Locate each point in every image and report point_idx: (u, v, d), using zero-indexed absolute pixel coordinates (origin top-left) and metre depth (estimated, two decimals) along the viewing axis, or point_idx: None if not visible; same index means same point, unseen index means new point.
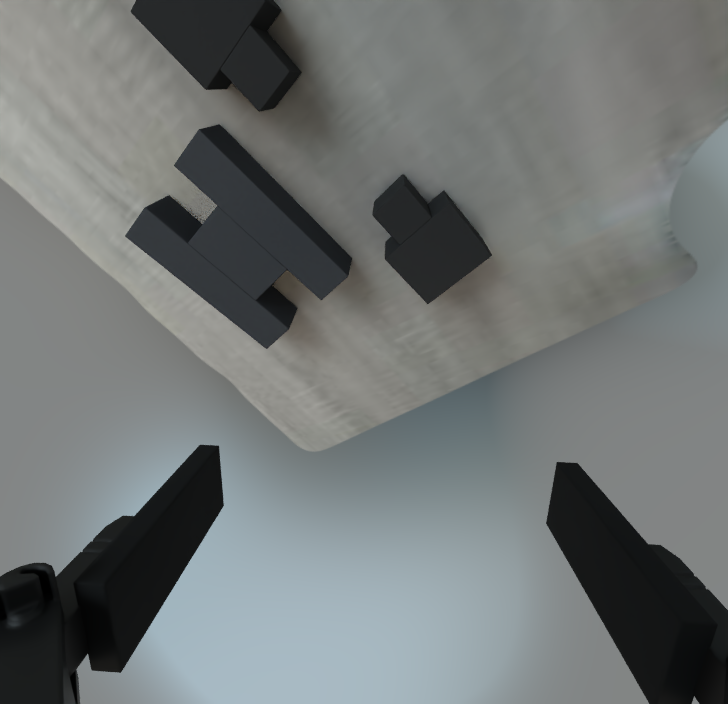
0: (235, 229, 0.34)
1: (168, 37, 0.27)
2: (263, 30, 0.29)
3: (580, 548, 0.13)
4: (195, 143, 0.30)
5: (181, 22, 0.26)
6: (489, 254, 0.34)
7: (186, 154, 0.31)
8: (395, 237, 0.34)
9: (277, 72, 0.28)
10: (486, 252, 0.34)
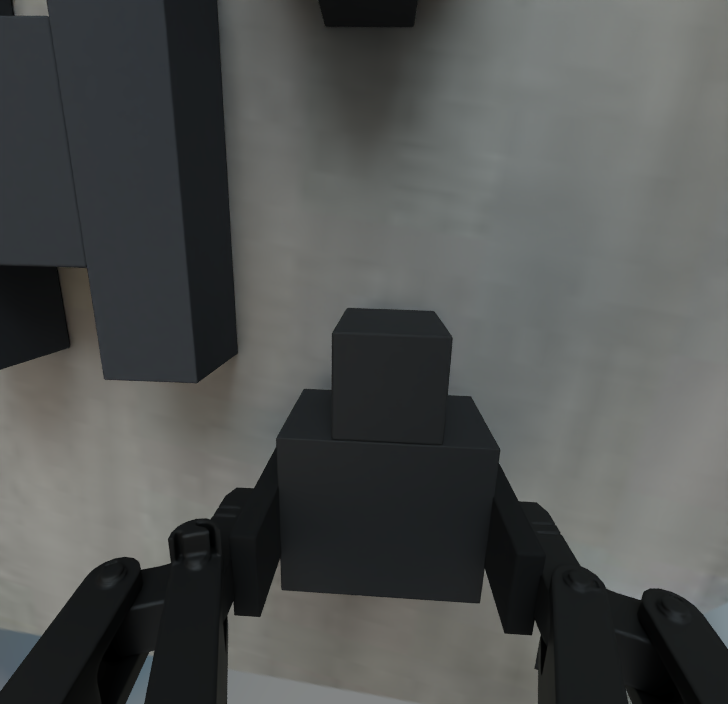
0: (43, 97, 0.13)
1: None
2: None
3: None
4: None
5: None
6: (477, 598, 0.14)
7: None
8: (337, 417, 0.12)
9: None
10: (475, 590, 0.14)
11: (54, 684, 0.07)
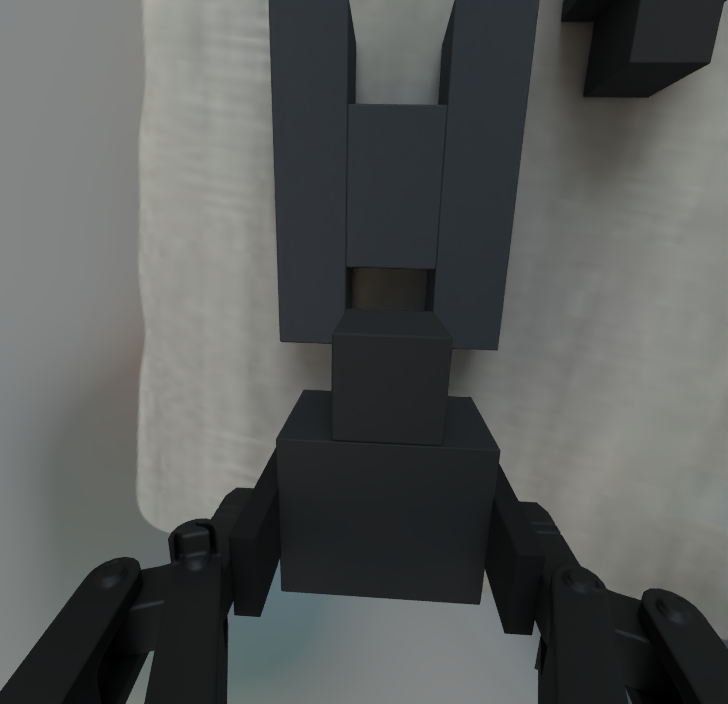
0: (432, 156, 0.19)
1: None
2: None
3: None
4: (515, 5, 0.17)
5: None
6: (477, 599, 0.14)
7: (488, 3, 0.17)
8: (337, 418, 0.12)
9: (697, 47, 0.17)
10: (476, 591, 0.14)
11: (54, 684, 0.07)
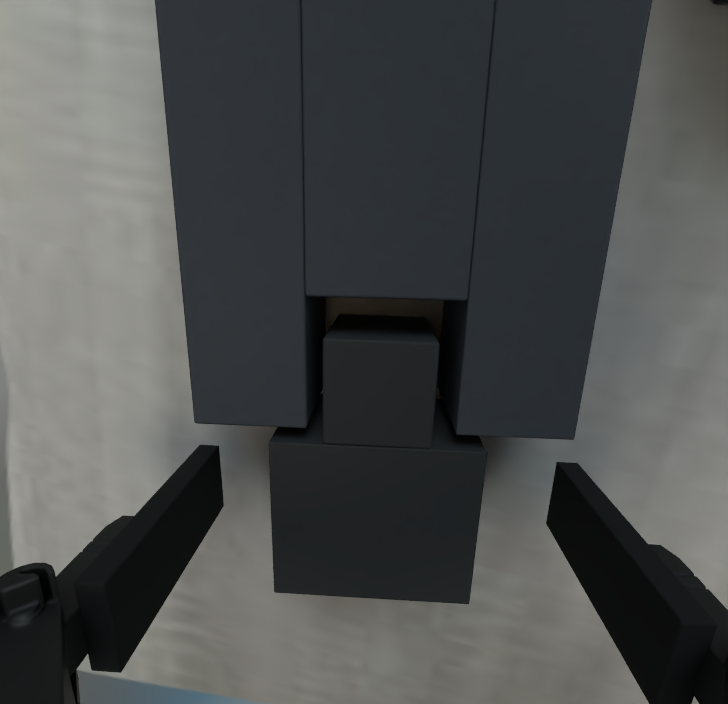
0: (466, 87, 0.10)
1: None
2: None
3: (580, 548, 0.13)
4: None
5: None
6: (466, 598, 0.14)
7: None
8: (328, 422, 0.12)
9: None
10: (465, 591, 0.14)
11: None
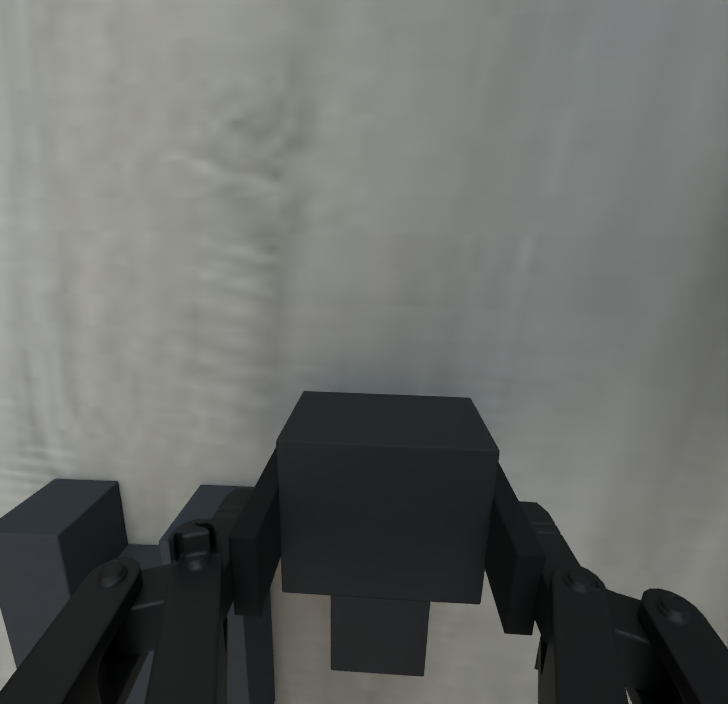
0: None
1: (298, 509, 0.13)
2: None
3: None
4: None
5: (340, 517, 0.13)
6: None
7: None
8: None
9: (406, 664, 0.15)
10: None
11: (54, 684, 0.07)
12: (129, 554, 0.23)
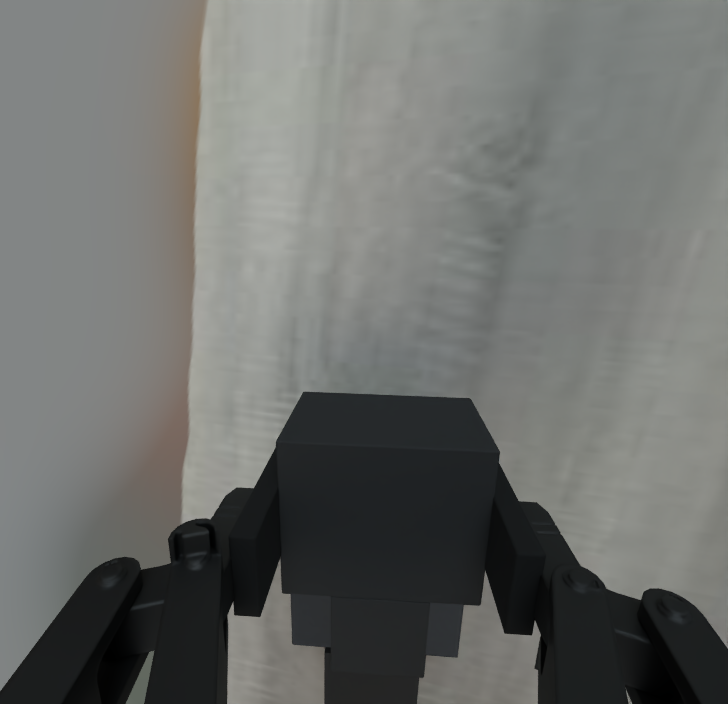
0: None
1: (298, 510, 0.13)
2: None
3: None
4: None
5: (339, 519, 0.13)
6: None
7: None
8: None
9: (406, 665, 0.15)
10: None
11: (54, 684, 0.07)
12: None
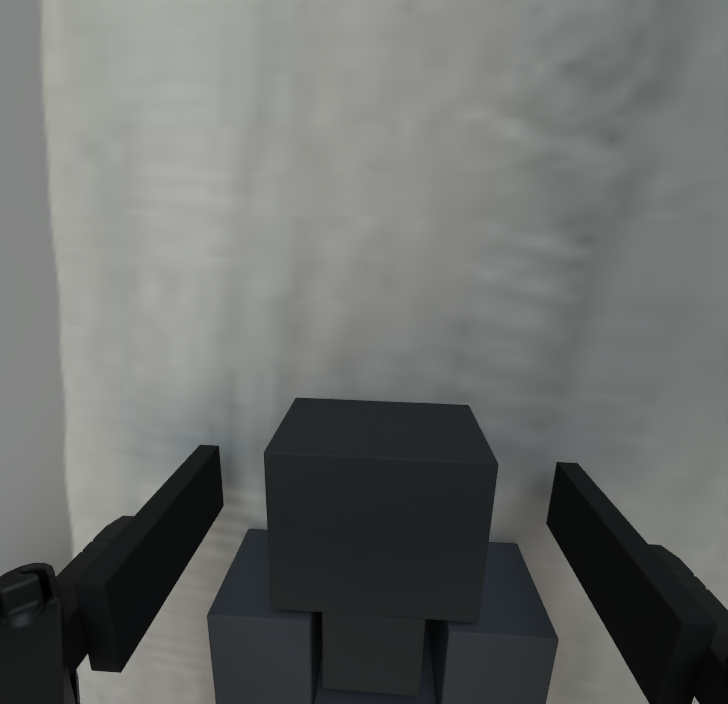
0: None
1: (287, 523, 0.13)
2: None
3: (580, 548, 0.13)
4: (527, 646, 0.13)
5: (331, 532, 0.13)
6: None
7: (491, 642, 0.13)
8: None
9: (401, 683, 0.14)
10: None
11: None
12: None
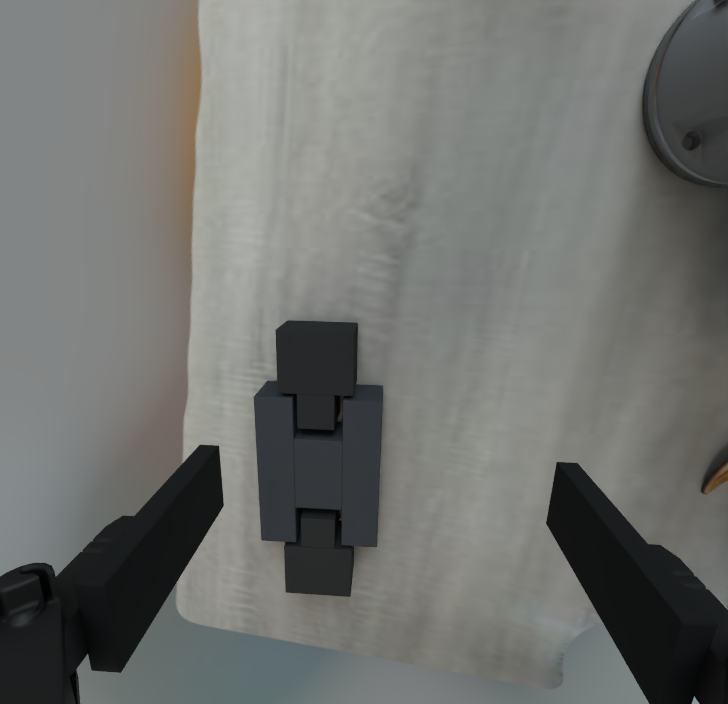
0: (336, 462, 0.38)
1: (283, 357, 0.36)
2: None
3: (580, 548, 0.13)
4: (371, 405, 0.37)
5: (299, 360, 0.36)
6: (349, 594, 0.42)
7: (358, 404, 0.37)
8: (302, 541, 0.41)
9: (326, 424, 0.37)
10: (348, 592, 0.42)
11: None
12: None
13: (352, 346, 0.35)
